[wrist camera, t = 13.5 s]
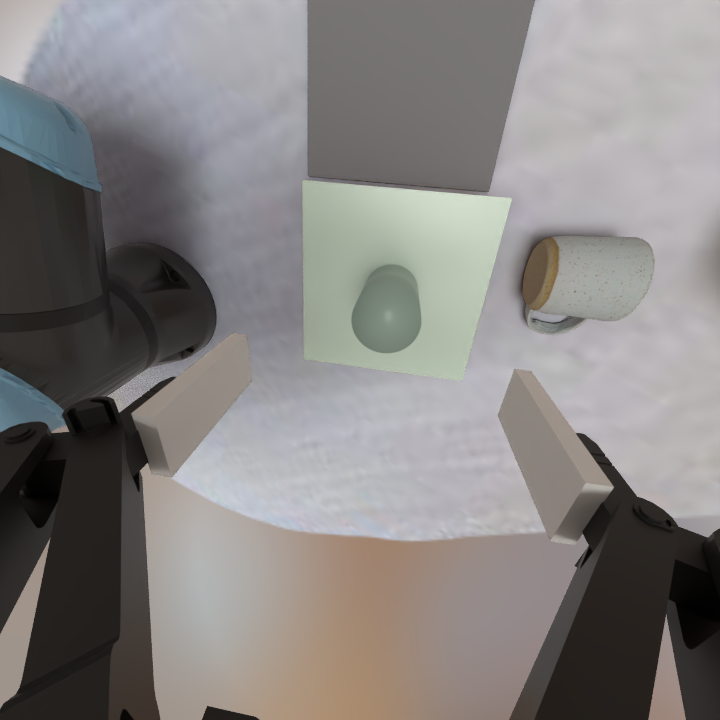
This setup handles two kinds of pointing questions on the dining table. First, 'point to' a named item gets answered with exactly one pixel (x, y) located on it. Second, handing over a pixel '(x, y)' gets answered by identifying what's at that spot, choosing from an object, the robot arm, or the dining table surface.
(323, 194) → the lid
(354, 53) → the mat
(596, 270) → the ceramic mug
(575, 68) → the dining table surface
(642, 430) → the dining table surface
